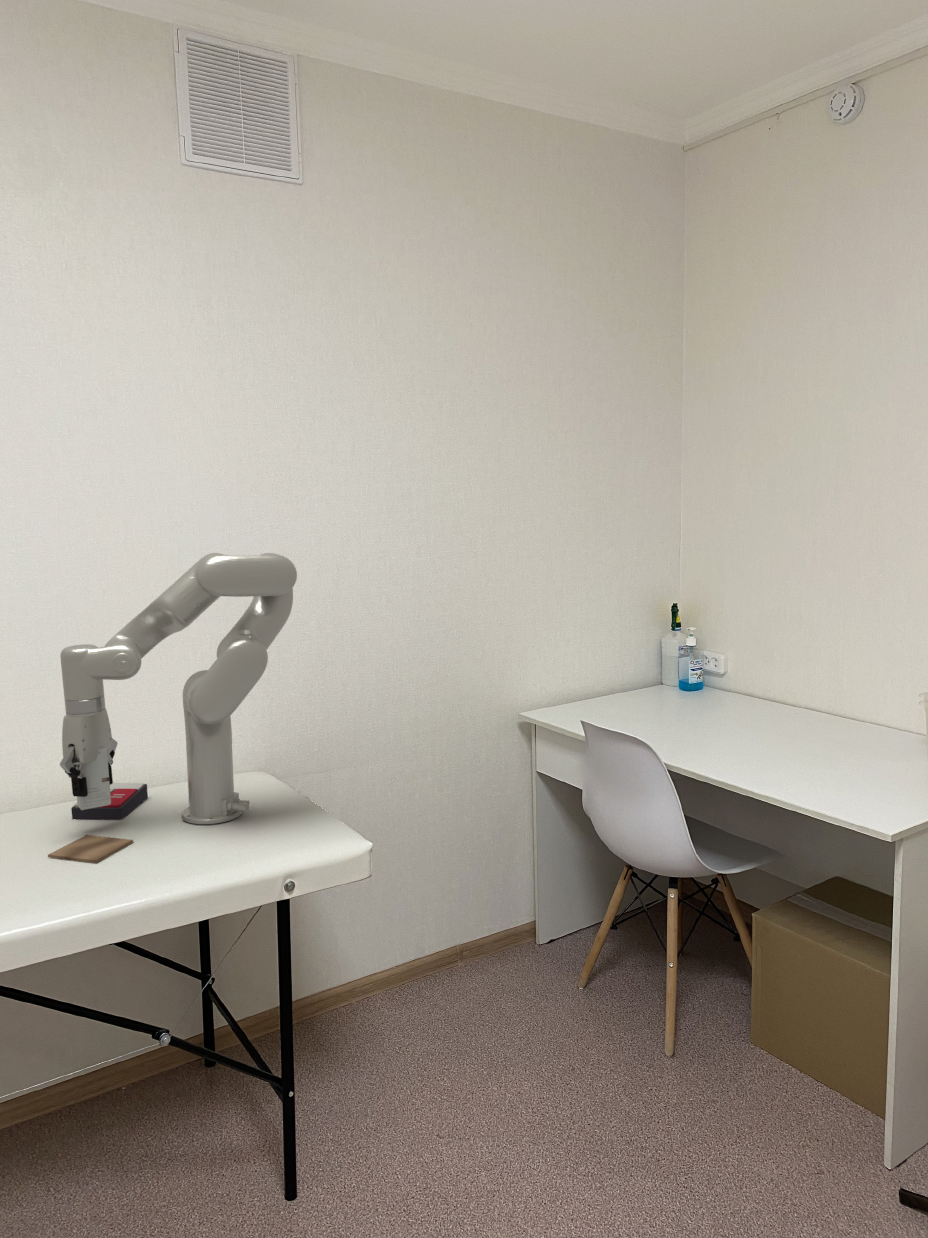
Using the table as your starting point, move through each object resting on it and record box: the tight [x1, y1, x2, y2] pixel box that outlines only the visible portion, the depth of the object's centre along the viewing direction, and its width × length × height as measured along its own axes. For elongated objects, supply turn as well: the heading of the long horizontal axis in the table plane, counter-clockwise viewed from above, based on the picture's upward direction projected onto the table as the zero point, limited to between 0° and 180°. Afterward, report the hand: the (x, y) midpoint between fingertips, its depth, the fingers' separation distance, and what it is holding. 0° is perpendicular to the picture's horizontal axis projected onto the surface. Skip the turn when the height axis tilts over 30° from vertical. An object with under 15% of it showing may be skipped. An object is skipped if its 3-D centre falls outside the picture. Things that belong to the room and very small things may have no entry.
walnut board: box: [47, 834, 134, 864], centre depth 179 cm, size 11×11×1 cm
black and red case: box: [70, 782, 149, 821], centre depth 204 cm, size 11×4×15 cm
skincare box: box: [76, 747, 111, 810], centre depth 189 cm, size 6×4×12 cm
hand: (93, 789), depth 189 cm, fingers closed on skincare box, 7 cm apart
